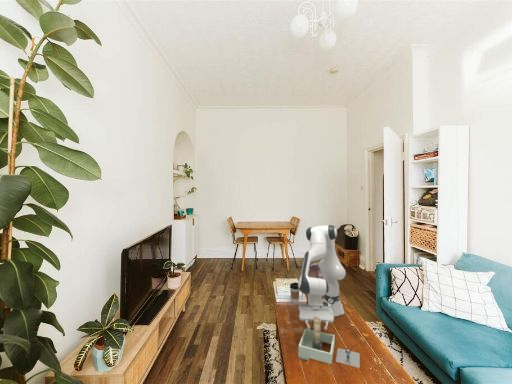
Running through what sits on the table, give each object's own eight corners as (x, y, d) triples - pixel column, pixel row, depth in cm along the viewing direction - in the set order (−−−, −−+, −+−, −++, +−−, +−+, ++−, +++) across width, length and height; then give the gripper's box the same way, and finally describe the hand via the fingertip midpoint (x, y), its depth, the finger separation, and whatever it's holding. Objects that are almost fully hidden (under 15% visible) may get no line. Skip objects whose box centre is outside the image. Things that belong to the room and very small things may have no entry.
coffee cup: (301, 303, 202) (301, 285, 201) (292, 304, 199) (292, 286, 199) (297, 298, 210) (297, 281, 209) (288, 300, 207) (288, 282, 207)
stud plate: (337, 350, 145) (337, 340, 144) (359, 355, 140) (359, 345, 140) (335, 364, 134) (335, 353, 133) (359, 370, 129) (359, 359, 129)
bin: (305, 339, 155) (305, 328, 155) (334, 346, 148) (334, 335, 148) (298, 357, 139) (298, 345, 138) (331, 366, 132) (331, 354, 131)
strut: (313, 346, 147) (313, 315, 146) (322, 348, 145) (322, 317, 144) (312, 351, 142) (312, 319, 141) (320, 354, 140) (320, 321, 139)
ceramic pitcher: (327, 297, 212) (327, 268, 211) (302, 295, 216) (302, 267, 216) (325, 288, 229) (325, 262, 228) (302, 287, 234) (302, 261, 233)
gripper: (298, 302, 151) (299, 326, 141) (332, 303, 148) (335, 329, 139) (298, 305, 155) (299, 329, 146) (331, 307, 153) (334, 332, 143)
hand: (317, 329), depth 142 cm, fingers open, 8 cm apart
